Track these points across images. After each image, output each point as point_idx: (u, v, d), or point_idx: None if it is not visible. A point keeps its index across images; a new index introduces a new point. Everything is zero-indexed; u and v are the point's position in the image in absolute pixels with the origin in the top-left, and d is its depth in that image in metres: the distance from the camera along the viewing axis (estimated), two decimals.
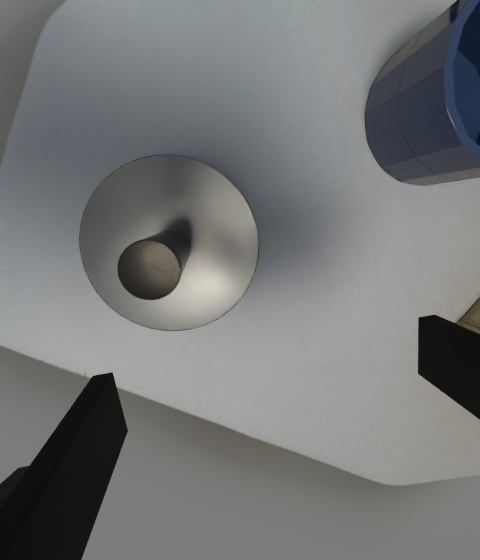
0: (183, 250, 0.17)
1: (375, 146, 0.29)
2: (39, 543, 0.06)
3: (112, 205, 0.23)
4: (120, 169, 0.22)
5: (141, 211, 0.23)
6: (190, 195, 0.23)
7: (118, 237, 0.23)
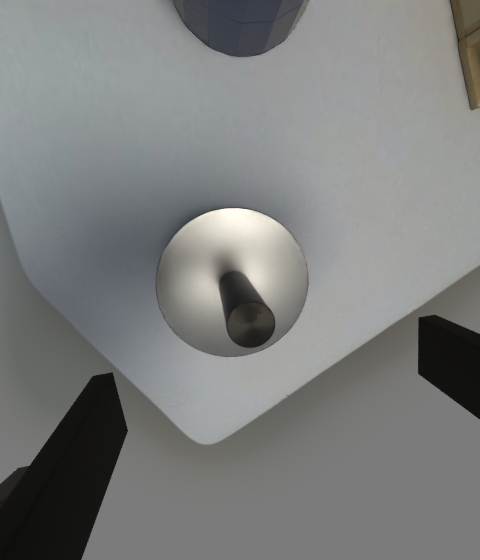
0: (246, 287, 0.21)
1: (241, 51, 0.27)
2: (39, 543, 0.06)
3: (180, 311, 0.27)
4: (157, 291, 0.26)
5: (195, 293, 0.27)
6: (202, 250, 0.26)
7: (205, 320, 0.28)
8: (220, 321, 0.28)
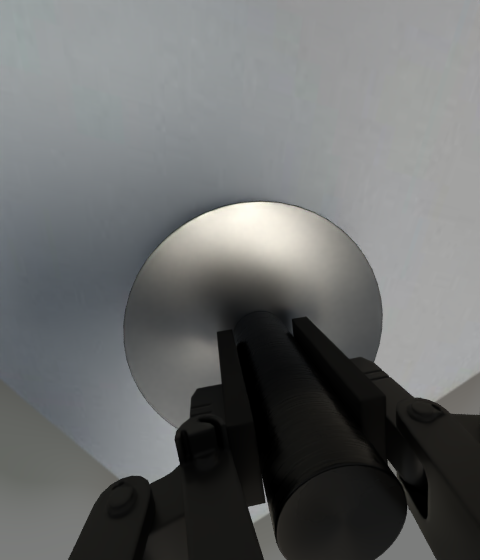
0: (301, 373, 0.09)
1: None
2: None
3: (167, 379, 0.16)
4: (127, 346, 0.15)
5: (192, 349, 0.16)
6: (204, 276, 0.15)
7: None
8: None
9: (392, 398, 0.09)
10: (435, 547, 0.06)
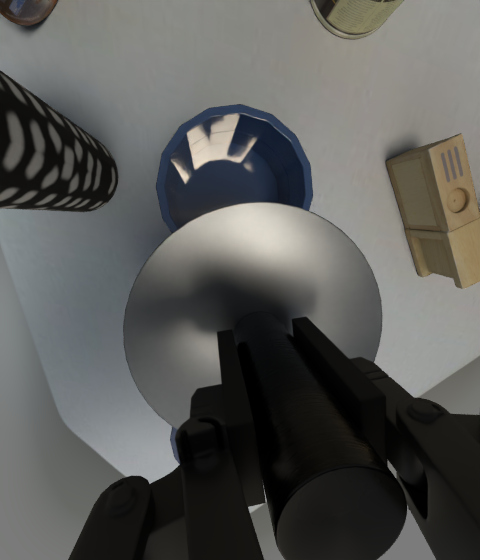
0: (301, 374, 0.09)
1: None
2: None
3: (166, 379, 0.16)
4: (127, 347, 0.15)
5: (192, 349, 0.16)
6: (203, 277, 0.15)
7: None
8: None
9: (392, 397, 0.09)
10: (436, 548, 0.06)
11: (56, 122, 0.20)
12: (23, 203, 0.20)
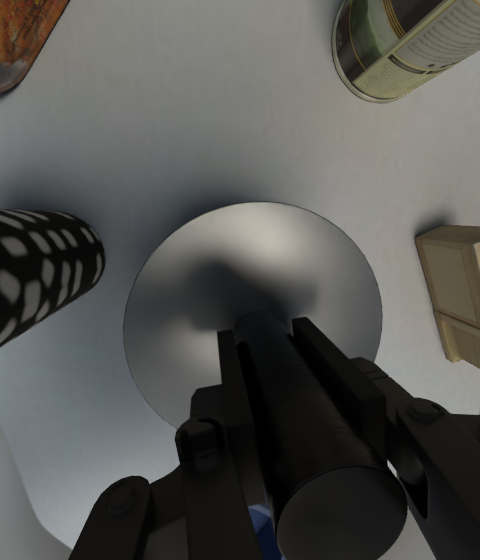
0: (301, 374, 0.09)
1: None
2: None
3: (166, 379, 0.16)
4: (127, 347, 0.15)
5: (192, 349, 0.16)
6: (204, 277, 0.15)
7: None
8: None
9: (392, 398, 0.09)
10: (436, 548, 0.06)
11: (13, 258, 0.15)
12: None
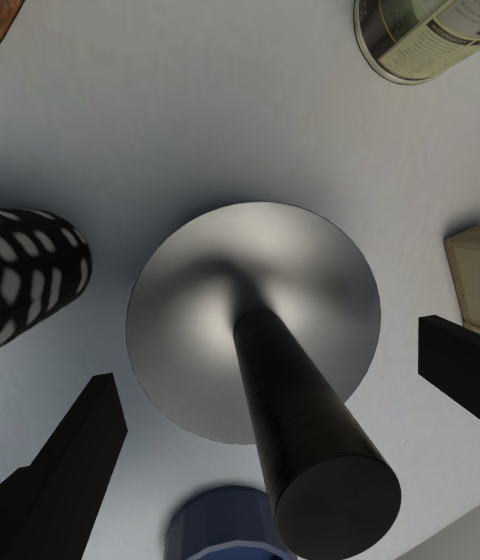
0: (300, 369, 0.10)
1: None
2: (39, 543, 0.06)
3: (168, 376, 0.16)
4: (129, 344, 0.15)
5: (193, 346, 0.16)
6: (205, 275, 0.15)
7: (210, 389, 0.17)
8: (235, 390, 0.17)
9: None
10: None
11: None
12: None
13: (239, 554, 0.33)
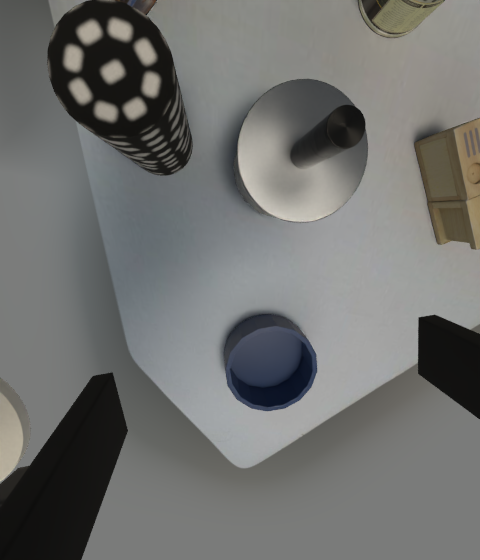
0: None
1: None
2: (39, 543, 0.06)
3: (256, 174, 0.31)
4: (238, 154, 0.31)
5: (270, 158, 0.31)
6: (278, 118, 0.30)
7: (276, 184, 0.32)
8: (289, 187, 0.32)
9: None
10: None
11: None
12: (154, 152, 0.27)
13: (272, 366, 0.48)
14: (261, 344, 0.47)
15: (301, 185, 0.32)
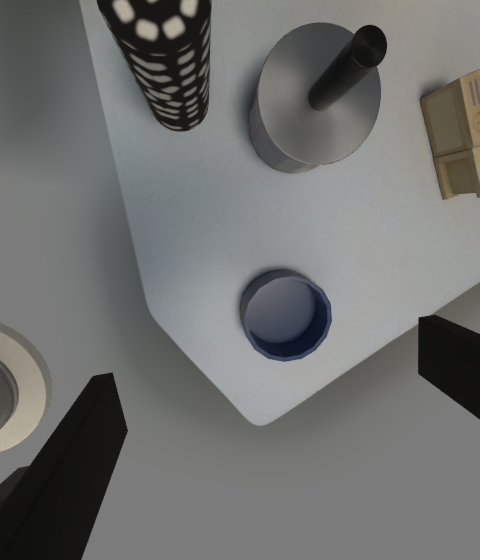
0: None
1: (294, 172, 0.43)
2: (39, 543, 0.06)
3: (276, 116, 0.33)
4: (259, 96, 0.32)
5: (289, 100, 0.32)
6: (296, 60, 0.32)
7: (295, 126, 0.33)
8: (307, 129, 0.33)
9: None
10: None
11: None
12: (183, 87, 0.28)
13: (287, 322, 0.49)
14: (276, 300, 0.48)
15: (318, 128, 0.33)
